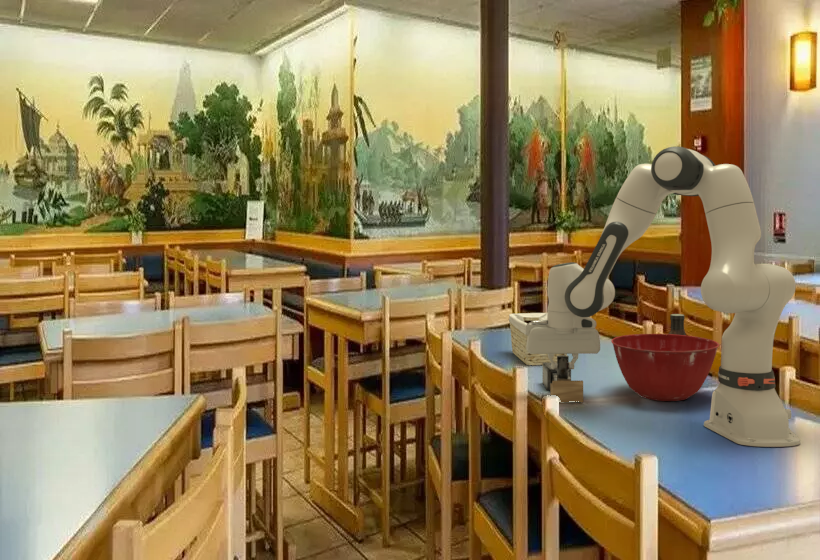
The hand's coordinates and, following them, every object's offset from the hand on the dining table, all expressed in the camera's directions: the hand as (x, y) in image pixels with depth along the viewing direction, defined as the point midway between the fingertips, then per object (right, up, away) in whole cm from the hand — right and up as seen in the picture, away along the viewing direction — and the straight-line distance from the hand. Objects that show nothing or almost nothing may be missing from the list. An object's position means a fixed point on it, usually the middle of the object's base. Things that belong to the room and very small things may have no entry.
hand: (562, 369), depth 208 cm
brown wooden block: (0, -8, -5) cm, 10 cm away
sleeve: (0, -7, +10) cm, 12 cm away
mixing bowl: (+28, -8, 0) cm, 29 cm away
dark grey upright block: (0, -6, +5) cm, 8 cm away
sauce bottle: (+39, -6, +18) cm, 43 cm away
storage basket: (+2, -3, +51) cm, 51 cm away
